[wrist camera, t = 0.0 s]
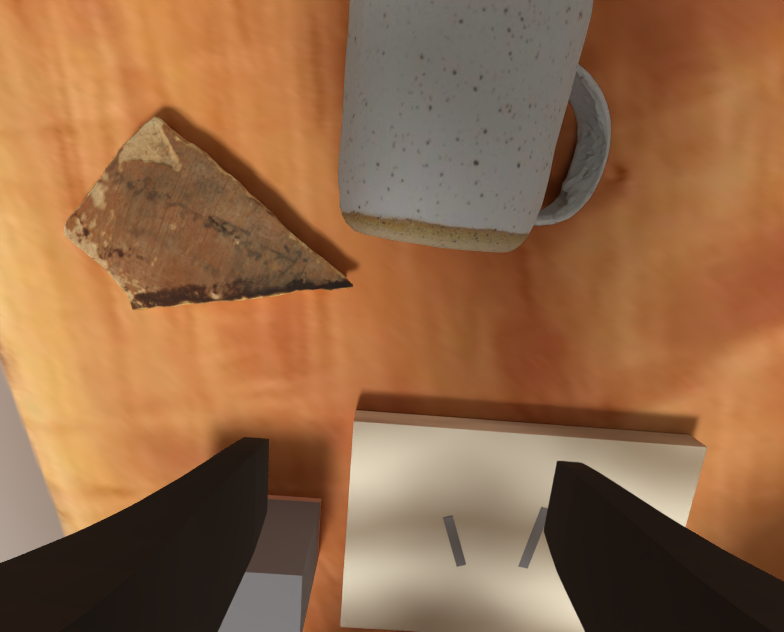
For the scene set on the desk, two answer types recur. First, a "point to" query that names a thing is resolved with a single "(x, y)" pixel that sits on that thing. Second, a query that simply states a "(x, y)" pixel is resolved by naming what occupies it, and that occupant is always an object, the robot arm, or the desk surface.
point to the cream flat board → (481, 516)
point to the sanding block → (279, 569)
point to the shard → (188, 230)
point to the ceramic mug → (465, 119)
